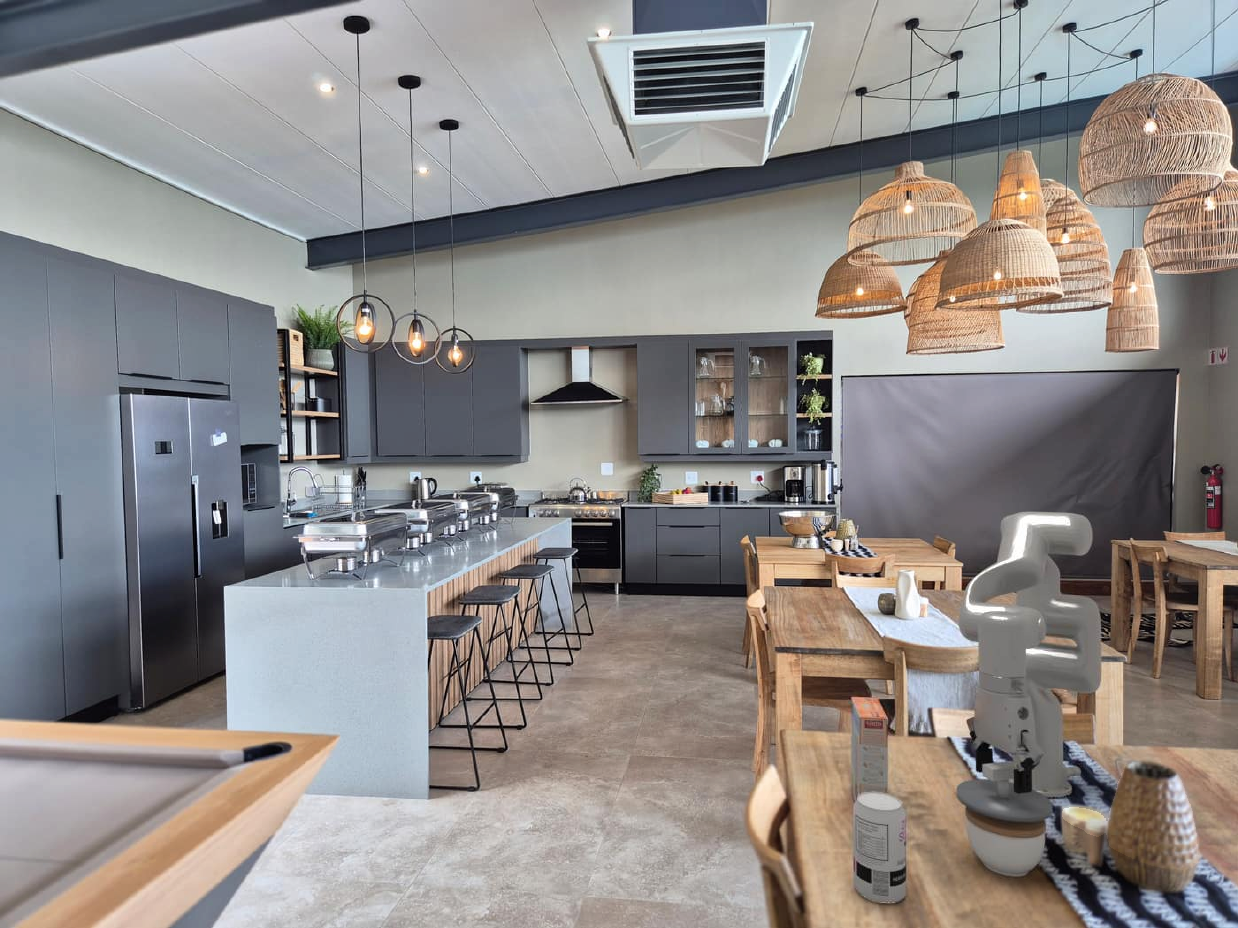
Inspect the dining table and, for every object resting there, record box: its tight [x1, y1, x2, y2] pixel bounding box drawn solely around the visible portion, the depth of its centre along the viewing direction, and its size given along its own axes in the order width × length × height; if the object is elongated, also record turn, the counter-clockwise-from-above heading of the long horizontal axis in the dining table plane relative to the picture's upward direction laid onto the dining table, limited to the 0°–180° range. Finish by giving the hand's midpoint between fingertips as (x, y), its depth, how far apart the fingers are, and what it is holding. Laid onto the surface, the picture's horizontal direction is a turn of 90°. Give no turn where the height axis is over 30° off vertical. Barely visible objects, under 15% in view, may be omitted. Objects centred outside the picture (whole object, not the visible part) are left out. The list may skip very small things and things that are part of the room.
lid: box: [956, 760, 1053, 822], centre depth 132 cm, size 15×15×6 cm
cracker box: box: [850, 696, 889, 803], centre depth 154 cm, size 14×6×21 cm, turn 168°
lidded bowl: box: [964, 806, 1047, 878], centre depth 131 cm, size 13×13×11 cm
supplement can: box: [852, 792, 907, 903], centre depth 123 cm, size 8×8×15 cm
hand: (1003, 781), depth 132 cm, fingers open, 8 cm apart
